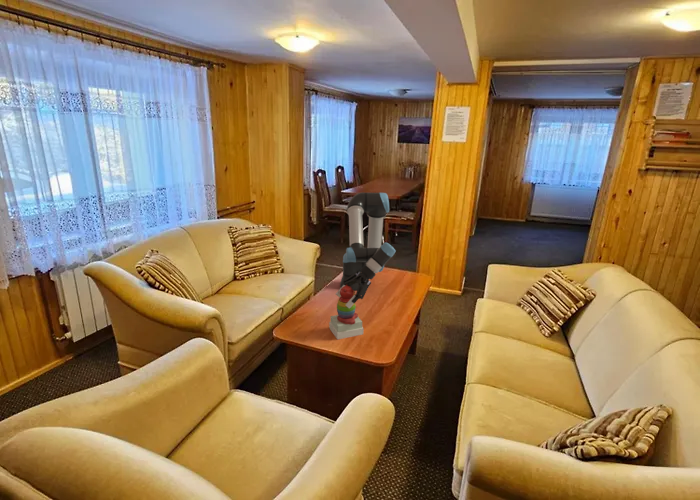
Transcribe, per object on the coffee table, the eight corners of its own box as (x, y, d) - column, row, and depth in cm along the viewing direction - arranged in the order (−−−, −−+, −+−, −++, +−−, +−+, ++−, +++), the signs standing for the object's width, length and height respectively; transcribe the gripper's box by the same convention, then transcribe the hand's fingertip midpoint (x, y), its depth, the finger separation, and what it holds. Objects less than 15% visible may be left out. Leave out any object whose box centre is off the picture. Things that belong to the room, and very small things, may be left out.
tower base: (329, 328, 195) (329, 315, 193) (354, 323, 200) (354, 311, 198) (337, 339, 185) (337, 326, 183) (363, 334, 190) (363, 321, 188)
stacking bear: (354, 325, 184) (355, 291, 179) (334, 322, 186) (334, 289, 181) (358, 315, 194) (359, 283, 189) (339, 313, 196) (339, 281, 191)
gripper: (386, 282, 178) (357, 316, 177) (364, 265, 200) (338, 295, 199) (377, 273, 175) (346, 307, 174) (356, 257, 197) (328, 287, 196)
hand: (342, 301), depth 187 cm, fingers open, 13 cm apart
